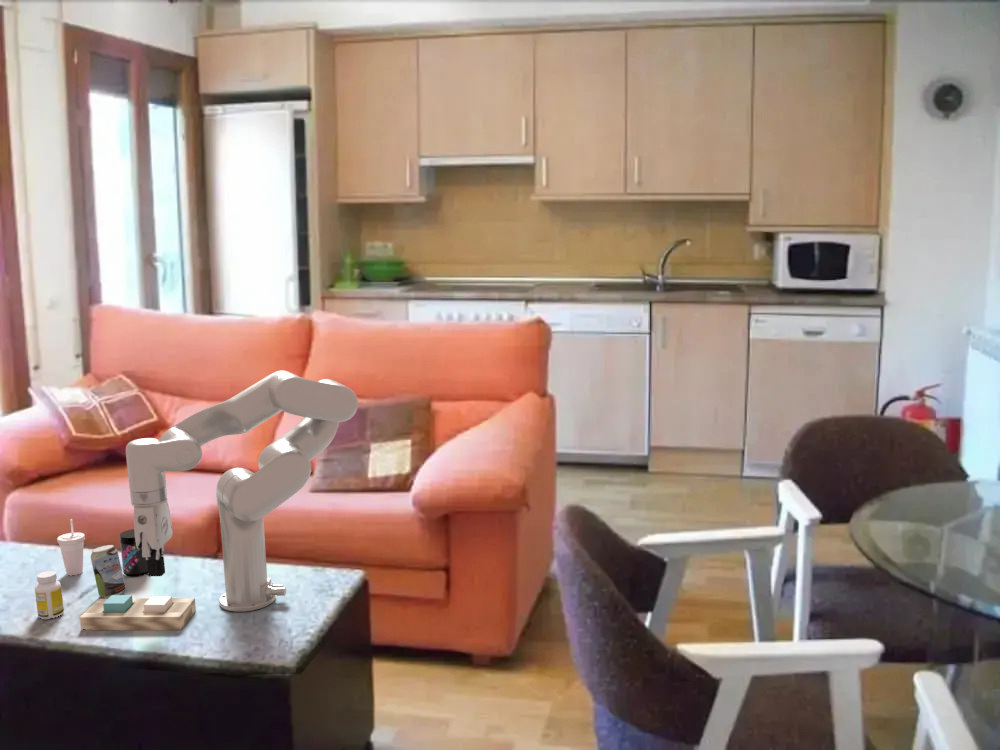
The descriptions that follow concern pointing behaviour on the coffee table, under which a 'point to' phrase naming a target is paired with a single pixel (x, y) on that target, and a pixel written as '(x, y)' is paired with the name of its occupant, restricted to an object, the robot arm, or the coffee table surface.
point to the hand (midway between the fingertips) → (156, 574)
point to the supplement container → (132, 556)
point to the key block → (139, 616)
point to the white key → (158, 604)
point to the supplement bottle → (48, 595)
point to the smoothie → (72, 551)
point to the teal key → (118, 604)
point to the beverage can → (107, 571)
